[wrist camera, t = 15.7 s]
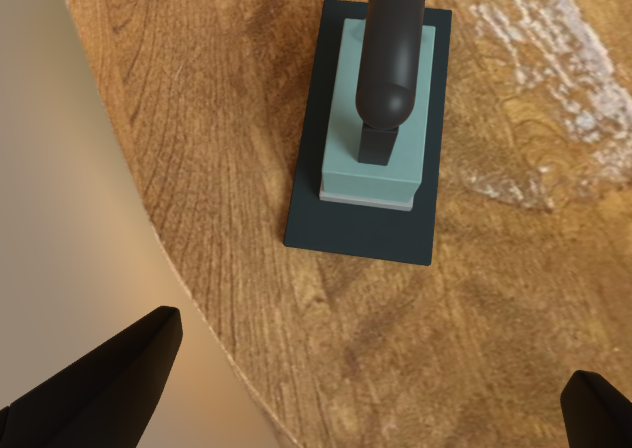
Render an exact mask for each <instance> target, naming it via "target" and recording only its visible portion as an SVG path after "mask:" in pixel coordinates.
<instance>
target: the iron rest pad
mask: <svg viewBox="0 0 632 448" xmlns="http://www.w3.org/2000/svg"><path fill="white" fill-rule="evenodd" d="M367 8H368V3H363V2H352V1H341V0H324V5H323V11H322V17H321V23H320V29H319V35H318V41H317V47H316V53H315V59H314V65H313V71H312V77H311V83H310V88H309V94H308V100H307V106H306V112H305V118H304V124H303V130H302V136H301V142H300V148H299V154H298V160H297V166H296V172H295V178H294V184H293V190H292V196H291V202H290V207H289V213H288V219H287V225H286V231H285V237H284V243H283V244H284V246H286V247H294V248H301V249H308V250H316V251H323V252H330V253H337V254H345V255H352V256H359V257H366V258H374V259H381V260H388V261H396V262H403V263H410V264H417V265H425V266H429V265H431V260H432V248H433V236H434V224H435V212H436V199H437V187H438V175H439V163H440V151H441V139H442V127H443V115H444V103H445V91H446V79H447V67H448V55H449V43H450V31H451V19H452V10H443V9H432V8H424V17H423V25H425V26H434V27H435V38H434V49H433V60H432V71H431V82H430V93H429V104H428V115H427V126H426V136H425V147H424V158H423V169H422V180H421V184H420V185H419V187H418V189H417V190H416V192H415V194H414V197H413V207H412V209H411V210H410V211H403V210H395V209H387V208H379V207H371V206H363V205H356V204H348V203H340V202H332V201H324V200H320V197H319V194H320V187H321V181H322V164H323V158H324V151H325V145H326V138H327V131H328V125H329V118H330V112H331V105H332V98H333V92H334V85H335V79H336V72H337V65H338V59H339V52H340V46H341V39H342V32H343V26H344V20H345V19H346V18H347V19H358V20H364V19H366V16H367Z"/></svg>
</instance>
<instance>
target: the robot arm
mask: <svg viewBox="0 0 632 448" xmlns="http://www.w3.org/2000/svg"><path fill="white" fill-rule="evenodd" d="M182 337H183V331H182V323H181V316H180V311H179V309H178V308H175V307H169V306H160V307H158V308H156V309H155V310H153V311H152V312H150V313H149V314H147V315H146V316H144V317H143V318H141V319H139V320H138V321H136V322H135V323H133V324H132V325H130V326H129V327H127V328H126V329H124V330H123V331H121V332H120V333H118V334H117V335H115V336H113V337H112V338H110V339H109V340H107V341H106V342H104V343H103V344H101V345H100V346H98V347H97V348H95V349H94V350H92V351H91V352H89V353H88V354H86V355H84V356H83V357H81V358H80V359H79V360H77V361H76V362H74V363H72V364H71V365H69V366H68V367H66V368H65V369H63V370H62V371H60V372H58V373H57V374H55V375H54V376H52V377H51V378H49V379H48V380H46V381H45V382H43V383H42V384H40V385H39V386H37V387H35V388H34V389H32V390H31V391H29V392H28V393H26V394H25V395H23V396H22V397H20V398H19V399H17V400H16V401H14V402H13V403H11V405H10V407H9V406H6V407H5V408H3V409H2V410H0V448H136V446H137V444H138V442H139V440H140V438H141V436H142V434H143V432H144V430H145V428H146V426H147V424H148V422H149V420H150V419H151V416H152V414H153V413H154V410H155V408H156V406H157V404H158V402H159V399H160V397H161V395H162V392H163V389H164V387H165V384H166V381H167V378H168V376H169V373H170V371H171V368H172V365H173V362H174V360H175V357H176V355H177V352H178V350H179V347H180V344H181V341H182ZM560 403H561V408H562V413H563V418H564V423H565V427H566V432H567V437H568V442H569V447H570V448H632V403H631V402H630V401H629V400H628V399H627V398H626V397H625V396H624V395H622V394H621V393H620V392H619V391H618V390H617V389H616V388H615V387H613V386H612V385H611V384H610V383H609V382H608V381H607V380H606V379H605V378H603V377H602V376H601V375H600V374H598V373H595V372H589V371H583V370H577V371H576V372H574V373H573V375H572V376H571V378H570V380H569V381H568V383H567V385H566V386H565V388H564V389H563V391H562V393H561V398H560Z"/></svg>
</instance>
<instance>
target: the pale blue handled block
mask: <svg viewBox="0 0 632 448" xmlns="http://www.w3.org/2000/svg"><path fill="white" fill-rule="evenodd" d="M424 7H425V0H369V1H368V8H367V16H366V19H364V20H358V19H347V18H346V19H345V20H344V26H343V32H342V39H341V46H340V52H339V59H338V65H337V72H336V79H335V85H334V92H333V98H332V105H331V112H330V118H329V125H328V131H327V138H326V145H325V151H324V158H323V164H322V181H321V187H320V194H319V197H320V200H324V201H332V202H340V203H348V204H356V205H363V206H371V207H379V208H387V209H395V210H403V211H410V210H411V209H412V207H413V197H414V194H415V192H416V190H417V189H418V187H419V185H420V184H421V180H422V169H423V158H424V147H425V136H426V126H427V115H428V104H429V93H430V82H431V71H432V60H433V49H434V38H435V27H434V26H425V25H423V17H424Z"/></svg>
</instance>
